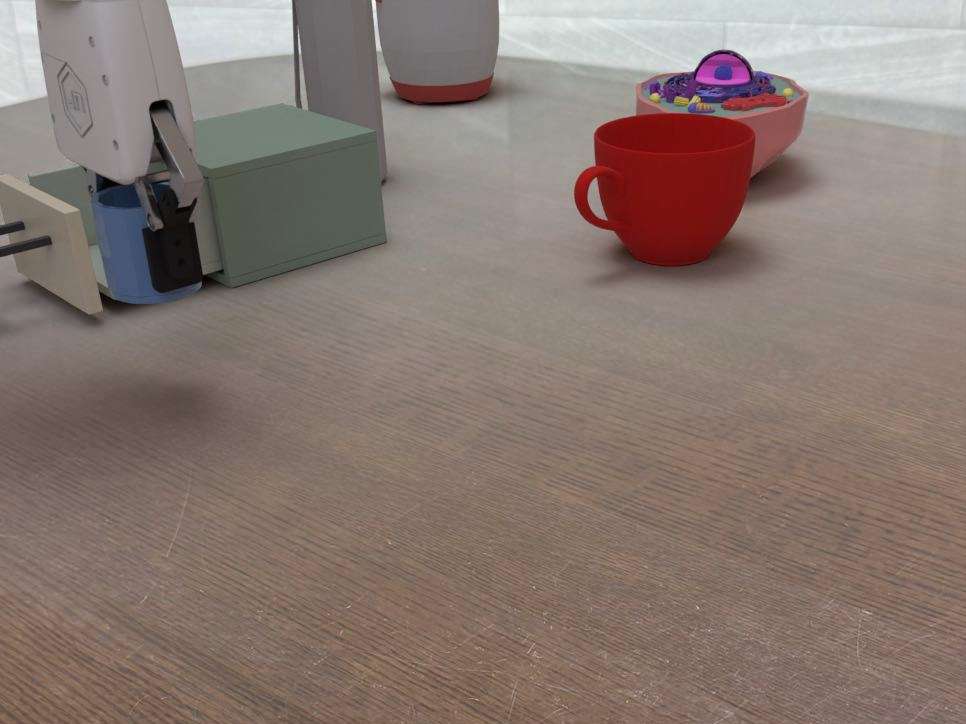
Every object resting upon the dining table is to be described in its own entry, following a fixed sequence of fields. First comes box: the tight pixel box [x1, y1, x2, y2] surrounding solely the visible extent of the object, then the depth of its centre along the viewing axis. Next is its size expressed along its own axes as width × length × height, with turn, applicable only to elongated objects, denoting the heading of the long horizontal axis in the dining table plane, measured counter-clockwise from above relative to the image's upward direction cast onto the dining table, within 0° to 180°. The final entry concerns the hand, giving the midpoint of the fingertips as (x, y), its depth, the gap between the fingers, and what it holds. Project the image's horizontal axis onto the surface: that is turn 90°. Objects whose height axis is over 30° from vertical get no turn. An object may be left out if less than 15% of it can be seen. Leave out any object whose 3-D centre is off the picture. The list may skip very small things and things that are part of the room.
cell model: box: [635, 48, 810, 179], centre depth 118 cm, size 17×20×11 cm
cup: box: [90, 182, 203, 305], centre depth 76 cm, size 6×6×6 cm
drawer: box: [0, 162, 224, 316], centre depth 95 cm, size 20×13×8 cm, turn 132°
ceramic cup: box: [573, 113, 755, 267], centre depth 98 cm, size 13×17×10 cm
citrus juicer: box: [374, 0, 500, 105], centre depth 148 cm, size 16×17×20 cm
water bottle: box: [291, 0, 388, 182], centre depth 115 cm, size 9×8×25 cm
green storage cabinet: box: [193, 102, 387, 289], centre depth 104 cm, size 16×15×10 cm
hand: (153, 270), depth 77 cm, fingers closed on cup, 5 cm apart
